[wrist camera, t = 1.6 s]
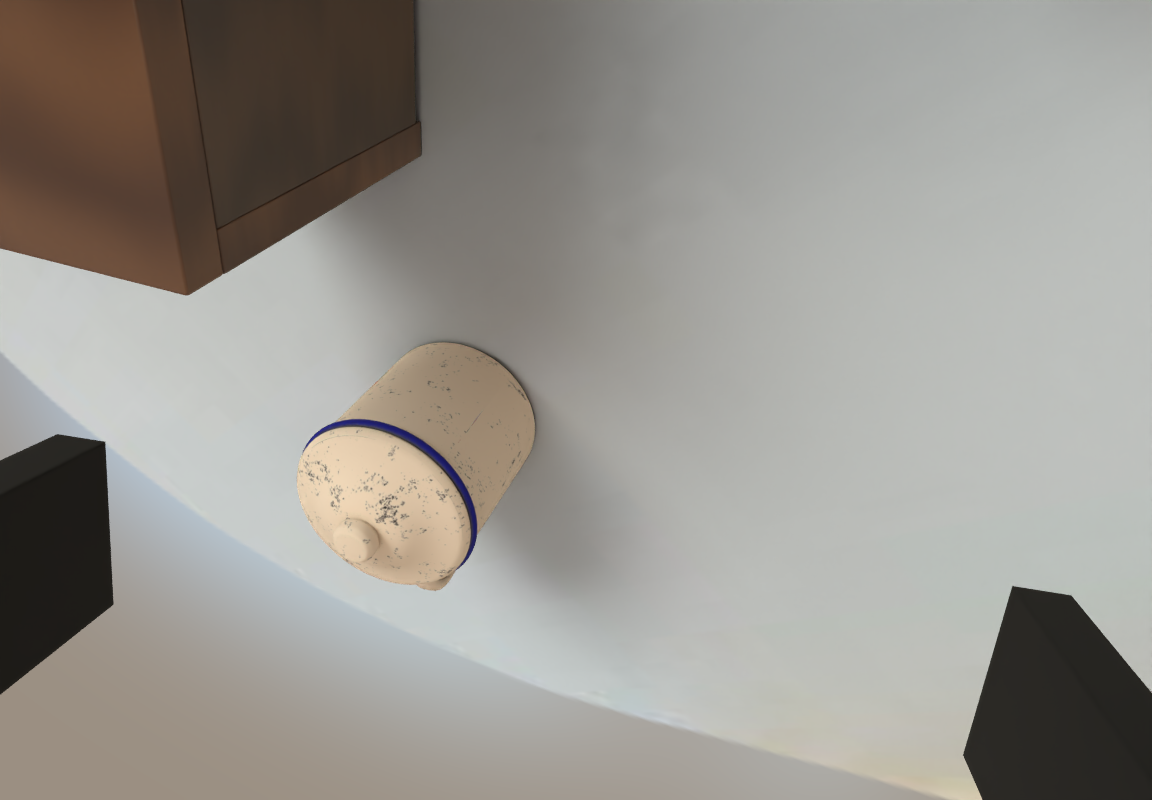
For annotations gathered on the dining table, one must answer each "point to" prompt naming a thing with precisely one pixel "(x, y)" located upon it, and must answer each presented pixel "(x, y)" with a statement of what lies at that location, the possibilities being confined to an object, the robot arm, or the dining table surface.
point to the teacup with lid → (417, 464)
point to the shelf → (194, 126)
